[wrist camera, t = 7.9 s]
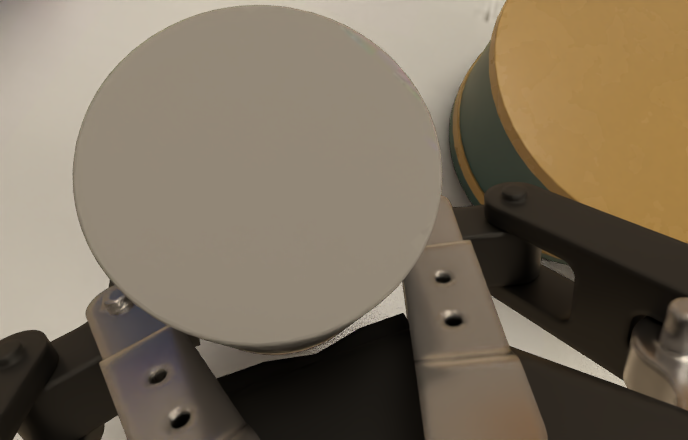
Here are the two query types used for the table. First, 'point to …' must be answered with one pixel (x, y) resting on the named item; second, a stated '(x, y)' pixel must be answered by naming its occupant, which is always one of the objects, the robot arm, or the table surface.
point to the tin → (582, 108)
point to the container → (257, 177)
